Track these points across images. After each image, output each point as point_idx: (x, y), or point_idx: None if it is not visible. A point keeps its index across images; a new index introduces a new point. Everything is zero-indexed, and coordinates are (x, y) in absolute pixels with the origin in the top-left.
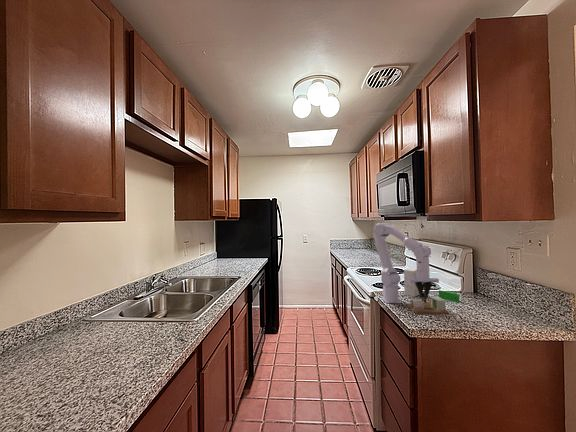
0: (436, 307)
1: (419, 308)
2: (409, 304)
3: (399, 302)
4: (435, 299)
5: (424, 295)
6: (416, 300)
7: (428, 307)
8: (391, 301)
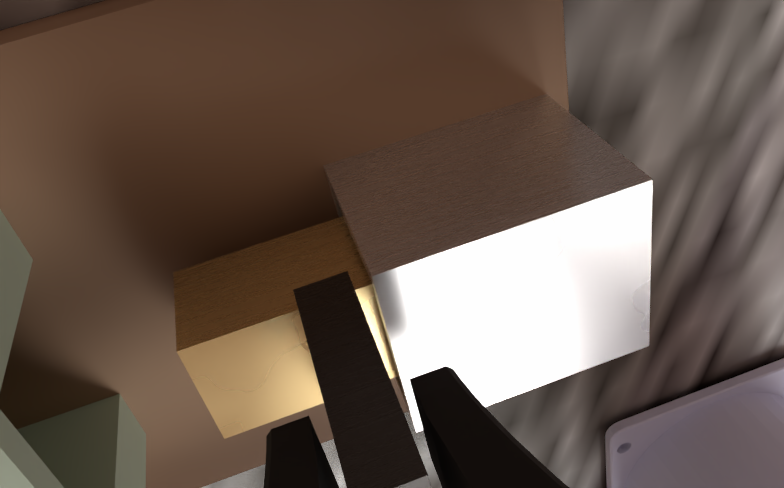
0: (38, 358)
1: (436, 139)
2: None
3: (637, 421)
4: (23, 463)
5: (393, 428)
6: (561, 264)
7: None
8: (752, 400)
